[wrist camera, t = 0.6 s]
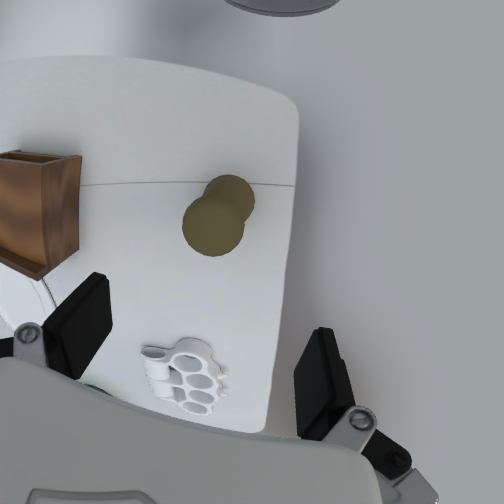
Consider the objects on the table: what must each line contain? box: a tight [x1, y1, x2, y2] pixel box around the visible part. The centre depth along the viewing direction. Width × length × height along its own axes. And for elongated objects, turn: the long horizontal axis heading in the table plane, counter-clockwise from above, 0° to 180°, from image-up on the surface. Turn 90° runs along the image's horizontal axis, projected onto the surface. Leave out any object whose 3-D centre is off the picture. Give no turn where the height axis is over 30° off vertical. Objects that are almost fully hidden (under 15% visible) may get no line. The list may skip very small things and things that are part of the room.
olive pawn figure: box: [182, 175, 255, 257], centre depth 26 cm, size 6×6×11 cm
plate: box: [0, 263, 56, 332], centre depth 40 cm, size 28×28×1 cm
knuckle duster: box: [140, 338, 229, 416], centre depth 42 cm, size 3×18×15 cm
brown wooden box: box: [0, 150, 82, 282], centre depth 27 cm, size 14×16×10 cm
